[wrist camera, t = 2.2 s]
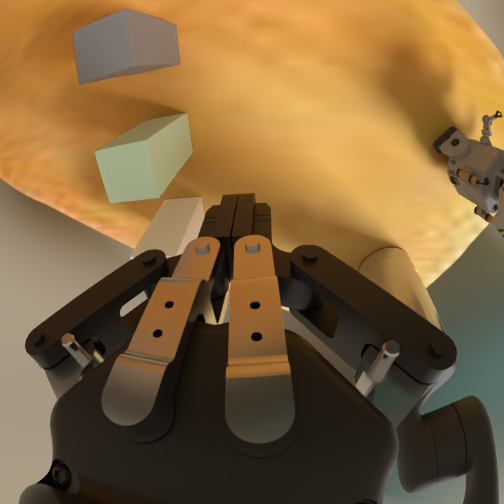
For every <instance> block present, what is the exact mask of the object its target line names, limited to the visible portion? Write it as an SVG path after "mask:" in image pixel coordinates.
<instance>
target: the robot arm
mask: <svg viewBox="0 0 504 504" xmlns="http://www.w3.org/2000/svg"><path fill="white" fill-rule="evenodd" d="M230 282H231V283H230ZM229 283H230V310H229V322H228V323H223V319H224V315H225V311H226V307H227V303H228V299H229V291H228V289H229ZM142 291H144V292H145V294H146V296H147V298H148V299H147V300H145V301H144V302H142V303H141V304H140V305H138V306H137V307H136V308H134V309H133V310H132V311H130V312H129V313H128V314H126V315H125V316H123V317H121V316H120V310H121V308H122V306H123V305H125V304H126V303H127V302H128V301H130V300H131V299H133V298H134V297H136V296H137V295H138V294H140V293H141V292H142ZM281 306H284V307H288V308H289V310H290V312H291V314H292V315H293V316H294V317H295V318H296V319H297V320H299V321H300V322H301V323H302V324H303V325H304V326H305V327H306V328H307V329H309V330H310V331H311V332H312V333H313V334H314V335H315V336H316V337H318V338H319V339H320V340H321V341H322V342H323V343H324V344H325V345H327V346H328V347H329V348H330V349H331V350H332V351H333V352H335V353H336V354H337V355H338V356H339V357H340V358H341V359H343V360H344V361H345V362H346V363H347V364H348V365H350V366H351V367H352V368H353V369H354V370H355V374H354V382H355V385H356V387H357V388H358V389H359V390H357V389H356V388H355V387H354V386H353V385H352V384H351V383H350V382H349V381H348V380H347V379H346V378H345V377H344V376H343V375H342V374H341V373H340V372H339V371H338V370H337V369H336V368H334V366H332V364H330V363H329V361H327V360H326V359H325V358H324V357H323V356H322V355H321V354H320V353H319V352H318V351H317V350H316V349H315V348H314V347H313V346H312V345H311V344H310V343H309V342H308V341H307V340H305V339H304V338H303V337H301V336H299V335H298V334H296V333H294V332H292V331H289V330H286V329H284V324H283V317H282V310H281ZM25 348H26V351H27V353H28V354H29V355H30V356H31V357H32V358H33V359H34V360H35V361H36V362H37V363H38V364H39V366H40V367H41V368H42V369H43V370H44V371H45V372H46V375H47V377H48V380H49V382H50V384H51V386H52V389H53V391H54V393H55V395H56V397H57V399H58V401H57V402H56V404H55V406H54V408H53V410H52V414H51V419H50V428H51V436H52V445H53V460H52V465H51V468H50V470H49V472H48V474H47V475H46V476H45V477H44V478H43V479H42V480H40V481H39V482H37V483H36V484H33V485H31V486H29V487H27V488H26V489H25V490H24V491H23V492H22V494H21V496H20V500H19V504H382V501H383V496H384V492H385V489H386V485H387V482H388V480H389V477H390V474H391V472H392V470H393V468H394V466H395V464H396V461H397V467H398V474H399V479H400V483H401V485H402V487H403V489H404V490H405V491H406V492H408V493H414V492H419V491H422V490H425V489H428V488H431V487H434V486H437V485H439V484H442V483H445V482H447V481H450V480H452V479H454V478H457V477H459V476H461V475H464V474H466V490H465V497H464V502H463V504H499V489H498V488H499V487H498V470H497V459H496V450H495V444H494V437H493V432H492V427H491V423H490V420H489V417H488V414H487V412H486V409H485V407H484V405H483V403H482V402H481V401H480V400H479V399H478V398H477V397H475V396H468V397H465V398H463V399H461V400H458V401H456V402H453V403H451V404H449V405H446V406H444V407H441V408H439V409H437V410H434V411H432V412H429V413H426V414H424V415H420V413H419V408H420V407H421V405H422V404H423V403H424V401H425V400H426V399H427V398H428V397H429V396H430V395H431V394H432V393H433V392H434V391H435V390H436V389H438V388H439V387H440V386H441V385H442V384H443V383H445V382H446V381H447V380H448V379H449V378H450V376H451V375H452V374H453V372H454V371H455V368H456V356H457V351H456V346H455V344H454V342H453V341H452V339H450V337H449V336H448V335H447V334H446V332H445V329H444V327H443V325H442V323H441V320H440V318H439V316H438V314H437V311H436V309H435V307H434V305H433V303H432V301H431V299H430V296H429V294H428V292H427V290H426V288H425V286H424V284H423V282H422V280H421V278H420V276H419V274H418V272H417V270H416V269H415V267H414V265H413V263H412V261H411V259H410V258H409V256H408V254H407V253H406V252H405V251H403V250H402V249H399V248H384V249H381V250H379V251H377V252H375V253H373V254H371V255H370V256H369V257H368V258H367V259H366V260H365V261H364V262H363V263H362V265H361V266H360V269H359V272H357V271H356V270H355V269H353V268H352V267H350V266H349V265H347V264H346V263H344V262H342V261H341V260H339V259H338V258H336V257H335V256H333V255H332V254H330V253H329V252H327V251H326V250H324V249H323V248H321V247H318V246H315V245H302V246H299V247H297V248H295V249H294V250H293V251H292V252H291V253H289V252H284V251H281V250H279V249H277V248H276V247H275V246H274V245H273V244H272V229H271V208H270V207H269V206H268V205H267V203H256V199H255V193H251V194H232V195H223V197H222V200H221V204H220V205H214V206H212V207H211V208H210V209H208V210H207V211H206V214H205V217H204V220H203V224H202V226H201V228H200V231H199V234H198V237H197V239H194V240H192V241H191V242H189V243H188V244H187V246H186V248H185V250H184V252H183V254H180V255H177V256H173V257H169V258H166V255H165V253H164V252H163V251H162V250H158V249H152V250H147V251H145V252H143V253H141V254H139V255H138V256H136V257H135V258H133V259H132V260H130V261H129V262H127V263H126V264H124V265H123V266H121V267H120V268H118V269H117V270H115V271H114V272H112V273H111V274H109V275H108V276H106V277H105V278H103V279H102V280H100V281H99V282H97V283H96V284H95V285H93V286H92V287H90V288H89V289H87V290H86V291H85V292H83V293H82V294H80V295H79V296H78V297H76V298H75V299H73V300H72V301H71V302H69V303H68V304H67V305H65V306H64V307H62V308H61V309H60V310H58V311H57V312H56V313H54V314H53V315H52V316H50V317H49V318H48V319H46V320H45V321H44V322H42V323H41V324H40V325H39V326H37V327H36V328H35V329H33V330H32V331H31V333H30V334H29V335H28V337H27V339H26V343H25Z"/></svg>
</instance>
